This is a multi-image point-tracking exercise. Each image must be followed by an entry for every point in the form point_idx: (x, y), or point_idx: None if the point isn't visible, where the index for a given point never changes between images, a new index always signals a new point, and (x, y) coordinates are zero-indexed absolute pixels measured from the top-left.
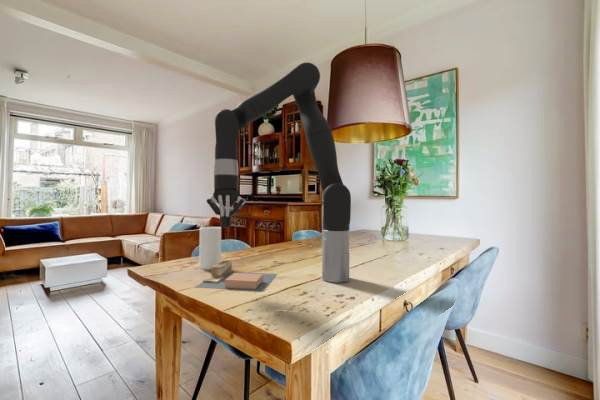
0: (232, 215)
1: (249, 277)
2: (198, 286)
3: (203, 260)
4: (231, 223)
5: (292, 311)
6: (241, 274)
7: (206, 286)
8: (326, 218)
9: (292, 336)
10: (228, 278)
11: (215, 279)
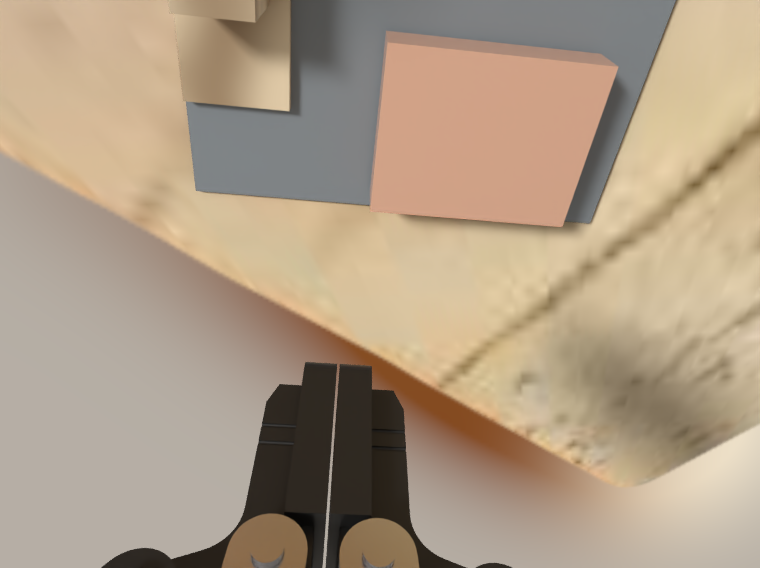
0: (433, 555)
1: (518, 156)
2: (208, 176)
3: None
4: (404, 425)
5: (673, 381)
6: (452, 86)
7: (254, 172)
8: None
9: (635, 481)
10: (384, 184)
11: (257, 68)
